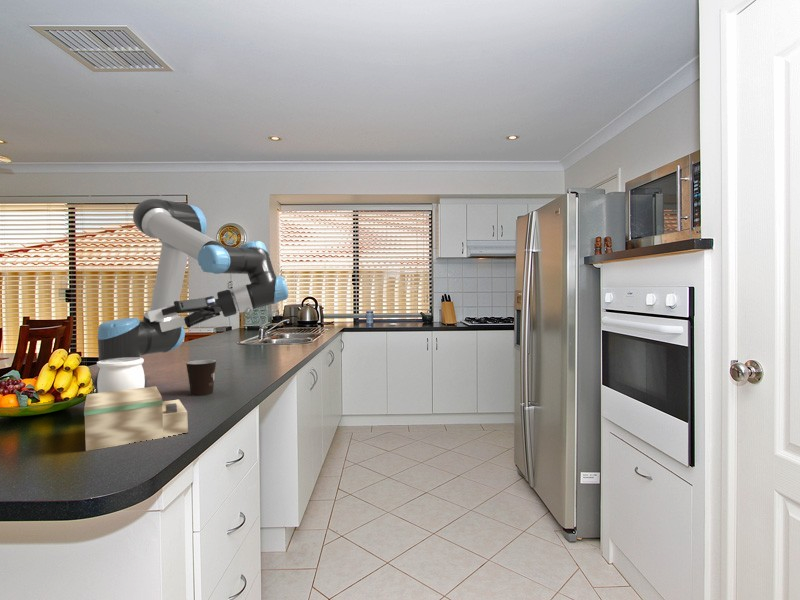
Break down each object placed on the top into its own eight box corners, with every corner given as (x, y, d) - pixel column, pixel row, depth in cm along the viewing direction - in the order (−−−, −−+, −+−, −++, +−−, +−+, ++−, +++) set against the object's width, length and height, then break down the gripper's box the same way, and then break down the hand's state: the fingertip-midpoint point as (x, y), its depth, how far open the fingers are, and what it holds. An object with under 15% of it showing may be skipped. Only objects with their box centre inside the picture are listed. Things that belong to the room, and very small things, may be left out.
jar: (102, 415, 118) (100, 358, 117) (147, 410, 122) (145, 355, 122) (94, 426, 108) (92, 364, 108) (143, 420, 113) (141, 361, 112)
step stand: (179, 418, 114) (178, 383, 113) (187, 433, 102) (186, 394, 101) (87, 433, 103) (86, 394, 103) (85, 451, 91) (83, 407, 91)
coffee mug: (205, 397, 136) (204, 364, 136) (180, 396, 138) (180, 364, 138) (227, 388, 148) (227, 358, 148) (204, 387, 150) (203, 358, 149)
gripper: (235, 302, 118) (147, 325, 111) (240, 322, 142) (168, 343, 134) (227, 276, 120) (139, 298, 112) (233, 300, 143) (161, 319, 135)
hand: (155, 322), depth 123 cm, fingers open, 13 cm apart
